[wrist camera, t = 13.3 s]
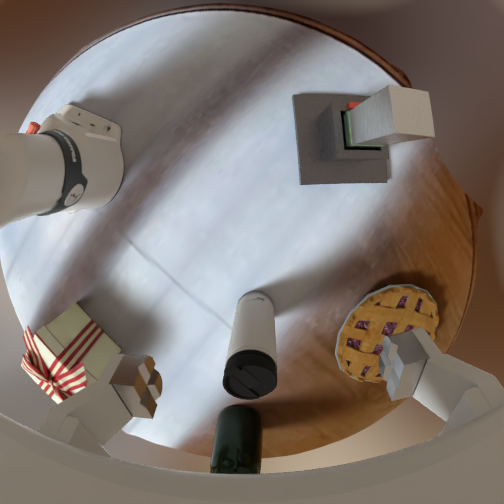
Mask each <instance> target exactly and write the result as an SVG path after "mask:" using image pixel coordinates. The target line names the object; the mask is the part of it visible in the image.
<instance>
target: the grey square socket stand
mask: <svg viewBox="0 0 504 504" xmlns="http://www.w3.org/2000/svg"><path fill="white" fill-rule="evenodd" d="M368 98H370V97H365V96H349V95H293V96H292V101H293V110H294V119H295V129H296V140H297V152H298V164H299V177H300V185H312V184H339V183H387V170H386V159H389V153H388V145H384V146H383V147H373V148H368V149H344V141H343V130H342V121H341V117H342V116H343V115H345V112H347V111H350V110H352V109H353V108H355V107H356V106H358V105H359V104H361V103H362V102H364V101H365V100H367V99H368Z"/></svg>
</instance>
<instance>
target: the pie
mask: <svg viewBox="0 0 504 504" xmlns="http://www.w3.org/2000/svg"><path fill="white" fill-rule="evenodd" d="M438 324H439V315H438V309H437V303H436V301H435V300H434V299H433V297H432V296H431V295H430V293H429V292H428V291H427V290H425V289H422V288H420V287H417V286H415V285H412V284H400V285H389V286H386V287H384V288H381V289H379V290H376V291H374V292H371V293H369V294H366V295H365V296H364V297H363V298H362V299H361V300H360V301H359V302H358V304H357V305H356V306H355V307H354V308H353V309H352V310H351V311H350V312H349V314H348V316H347V318H346V320H345V322H344V324H343V326H342V327H341V329H340V331H339V333H338V338H337V344H336V350H335V355H336V358H337V361H338V365H339V368H340V369H341V370H342V371H343V372H345V373H346V374H347V376H348V377H349V376H350V377H352V378H353V379H356V380H357V381H359V382H363V381H370V382H373V383H381V382H382V381H383V380H384V379H382V377H381V374H380V371H379V356H380V354H381V353H382V351H383V350H384V348H383V346H382V342H383V339H384V337H385V336H388V335H393V334H397V333H401V332H406V331H410V330H413V329H417V328H423V329H425V331H426V332H427V333H428V335H429V336H430V337H431V339H432V340H433V341H434V340H435V338H436V334H435V331H436V328H437V325H438Z"/></svg>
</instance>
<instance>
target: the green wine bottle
mask: <svg viewBox="0 0 504 504" xmlns="http://www.w3.org/2000/svg"><path fill="white" fill-rule="evenodd" d="M262 441H263V418H262V416H261V415H260V414H259V413H258V412H257V411H256V410H254V409H252V408H249V407H244V406H232V407H228V408H225V409H224V410H222V411H221V412H220V413H219V415H218V418H217V423H216V428H215V434H214V441H213V447H212V454H211V461H210V473H215V474H260V470H261V459H262Z"/></svg>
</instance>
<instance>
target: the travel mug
mask: <svg viewBox="0 0 504 504" xmlns="http://www.w3.org/2000/svg"><path fill="white" fill-rule="evenodd" d="M276 385H277V356H276V338H275V320H274V305H273V302H272V300H271V299H270V297H269V296H268V295H266V294H264V293H262V292H258V291H253V292H249V293H246V294H244V295H243V296H242V297H241V298H240V299H239V301H238V305H237V309H236V314H235V319H234V324H233V329H232V334H231V339H230V344H229V349H228V354H227V359H226V364H225V370H224V377H223V387H224V389H225V390H226V391H227V392H228V393H229V394H230V395H232V396H234V397H236V398H240V399H246V400H253V399H257V398H259V397H262V396H265V395H267V394H268V393H270V392H272V391H273V390H274V389H275V388H276Z"/></svg>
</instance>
